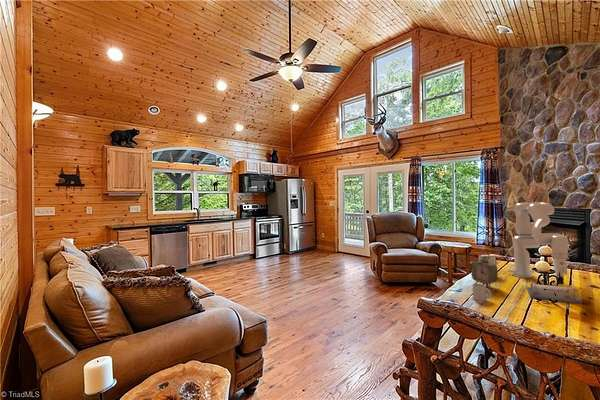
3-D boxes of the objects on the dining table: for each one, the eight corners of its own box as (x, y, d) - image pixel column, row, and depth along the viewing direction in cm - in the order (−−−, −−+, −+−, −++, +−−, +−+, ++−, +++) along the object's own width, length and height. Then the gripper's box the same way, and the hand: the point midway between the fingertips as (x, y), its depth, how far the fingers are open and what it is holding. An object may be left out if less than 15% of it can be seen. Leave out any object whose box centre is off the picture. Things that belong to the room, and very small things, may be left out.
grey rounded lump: (474, 296, 188) (473, 283, 188) (492, 299, 182) (491, 285, 182) (471, 299, 183) (471, 286, 183) (490, 303, 176) (490, 288, 176)
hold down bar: (533, 288, 186) (532, 285, 185) (532, 286, 189) (531, 283, 189) (578, 292, 174) (577, 289, 174) (576, 290, 178) (575, 287, 178)
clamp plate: (530, 297, 182) (530, 286, 182) (527, 289, 195) (526, 279, 195) (582, 304, 169) (581, 292, 169) (574, 295, 182) (574, 284, 182)
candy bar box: (493, 274, 232) (493, 254, 232) (497, 276, 227) (496, 255, 227) (479, 274, 234) (478, 254, 234) (481, 276, 229) (481, 255, 229)
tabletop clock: (471, 284, 211) (470, 251, 210) (479, 282, 214) (478, 249, 214) (491, 290, 197) (490, 254, 197) (499, 288, 201) (498, 253, 200)
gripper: (570, 258, 171) (571, 288, 172) (564, 252, 184) (565, 280, 185) (554, 257, 175) (554, 286, 176) (549, 252, 188) (549, 279, 189)
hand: (560, 283), depth 180 cm, fingers closed
